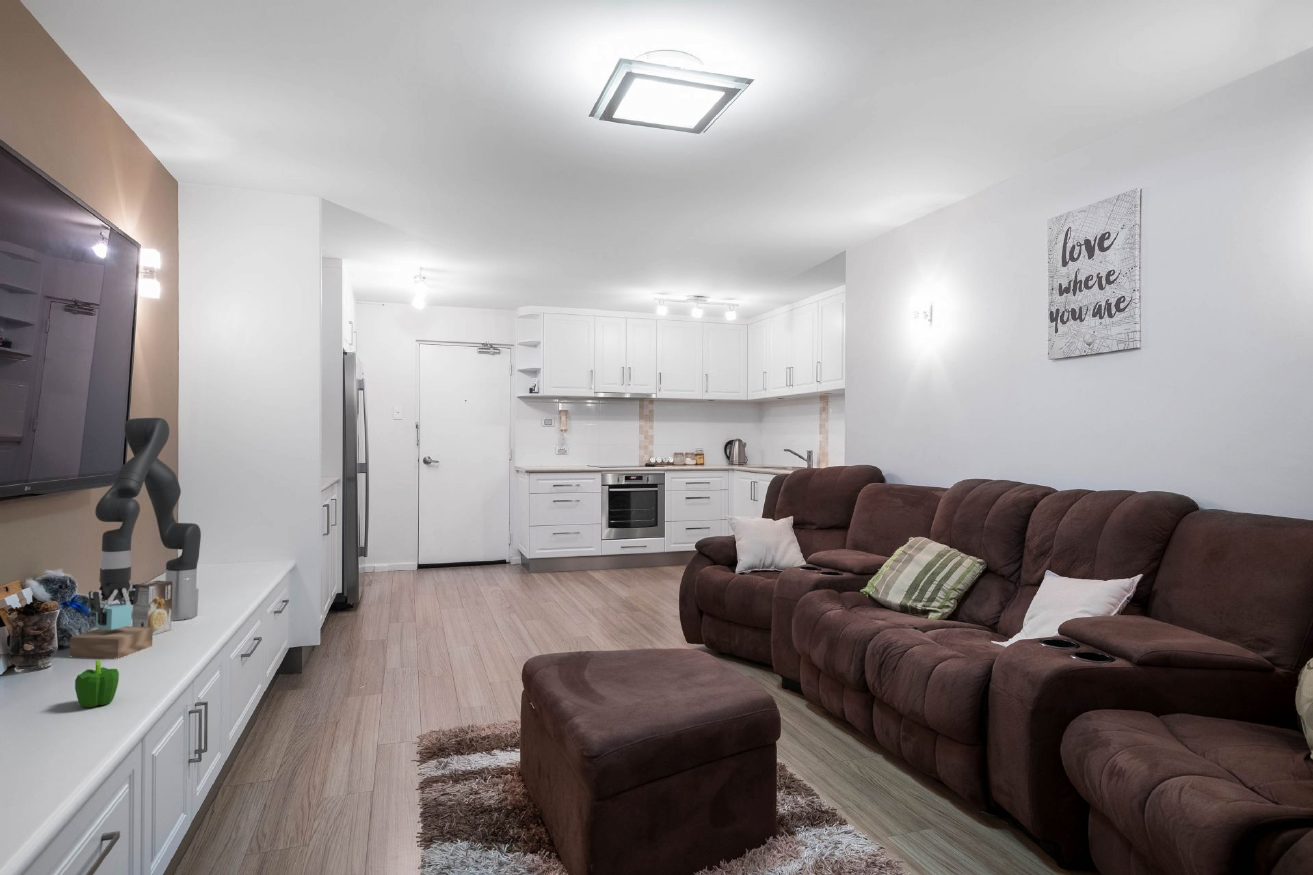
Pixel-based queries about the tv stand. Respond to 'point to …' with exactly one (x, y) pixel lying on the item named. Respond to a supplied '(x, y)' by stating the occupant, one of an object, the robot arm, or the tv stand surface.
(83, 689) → the bell pepper
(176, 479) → the robot arm
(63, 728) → the tv stand surface
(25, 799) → the tv stand surface
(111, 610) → the teal cube
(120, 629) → the walnut block
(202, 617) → the tv stand surface
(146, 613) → the coffee box
